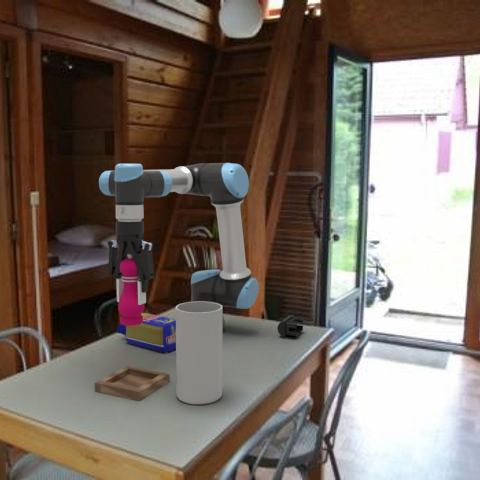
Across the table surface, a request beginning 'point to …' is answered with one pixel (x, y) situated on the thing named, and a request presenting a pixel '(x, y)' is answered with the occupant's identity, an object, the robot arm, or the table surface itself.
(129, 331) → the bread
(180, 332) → the cylinder vase
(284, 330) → the end cap
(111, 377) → the walnut holder
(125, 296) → the pepper mill
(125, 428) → the table surface
